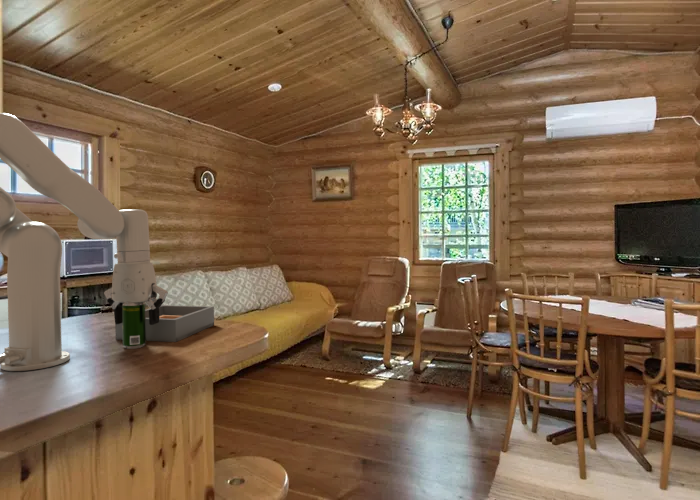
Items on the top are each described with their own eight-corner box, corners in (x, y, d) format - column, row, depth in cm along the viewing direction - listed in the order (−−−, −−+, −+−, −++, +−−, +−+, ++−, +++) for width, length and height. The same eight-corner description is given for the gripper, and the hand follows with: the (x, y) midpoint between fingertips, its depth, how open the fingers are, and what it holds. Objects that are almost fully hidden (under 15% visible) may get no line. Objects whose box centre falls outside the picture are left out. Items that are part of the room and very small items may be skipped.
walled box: (175, 341, 116) (175, 319, 116) (115, 339, 119) (115, 317, 119) (214, 325, 138) (213, 306, 138) (162, 323, 141) (162, 305, 141)
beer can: (148, 346, 111) (147, 300, 111) (125, 350, 108) (124, 302, 108) (142, 342, 116) (142, 298, 115) (120, 346, 112) (119, 300, 112)
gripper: (93, 259, 109) (96, 326, 110) (156, 258, 106) (159, 327, 107) (113, 257, 116) (117, 319, 117) (173, 256, 114) (176, 320, 115)
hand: (137, 323), depth 112 cm, fingers open, 9 cm apart
